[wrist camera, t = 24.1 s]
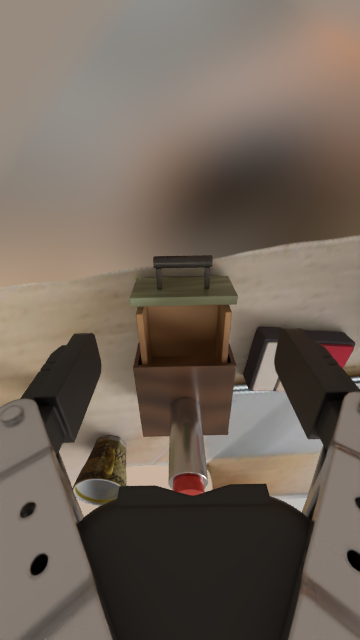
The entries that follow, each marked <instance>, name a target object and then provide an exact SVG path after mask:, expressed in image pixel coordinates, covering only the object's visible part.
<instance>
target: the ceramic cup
mask: <svg viewBox="0 0 360 640" xmlns="http://www.w3.org/2000/svg"><path fill="white" fill-rule="evenodd" d="M119 486H126V444H125V443H124V442H123V441H122V439H121V438H120V437H116V436H112V435H108V436H104V437H100V438H99V439H98V440H97V442H96V444H95V446H94V448H93V450H92V452H91V454H90V456H89V458H88V460H87V462H86V464H85V465H84V467H83V468H82V470H81V472H80V474H79V476H78V478H77V480H76V482H75V484H74V486H73V491H74V494H75V497H76V498H78V499H79V500H81V501H83V502H85V503H88V504H92V505H99V506H101V505H103V504H105V503H107V502H109V501H111V500H114V499H117V497H118V491H119Z"/></svg>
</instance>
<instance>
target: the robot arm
mask: <svg viewBox="0 0 360 640" xmlns="http://www.w3.org/2000/svg"><path fill="white" fill-rule="evenodd" d="M274 366H275V370H276V373H277V375H278V377H279V379H280V381H281V383H282V386H283V388H284V390H285V392H286V394H287V396H288V398H289V400H290V402H291V405H292V407H293V409H294V411H295V413H296V415H297V417H298V419H299V421H300V423H301V426H302V428H303V430H304V432H305V434H306V436H307V438H308V439H321V441H322V443H323V447H322V450H321V453H320V456H319V460H318V463H317V466H316V470H315V473H314V477H313V480H312V484H311V487H310V490H309V494H308V497H307V500H306V502H305V505H304V508H303V511H302V512H300V511H299V510H297V509H296V508H294V507H293V506H291V505H289V504H287V503H285V502H284V501H281V500H279V499H276V498H274V497H270V496H269V493H268V489H267V485H266V484H230V485H227V486H223V487H220V488H217V489H214V490H211V491H208V492H205V493H201V494H198V495H193V496H191V495H187V494H183V493H180V492H176V491H173V490H169V489H165V488H162V487H158V486H119V491H118V497H117V499H114V500H111V501H109V502H107V503H105V504H103V505H101V506H99V507H98V508H96V509H95V510H93V511H92V512H90V513H89V514H88V515H87V516H85V517H84V516H83V514H82V511H81V509H80V507H79V504H78V502H77V500H76V497H75V494H74V491H73V488H72V486H71V483H70V480H69V477H68V475H67V472H66V469H65V467H64V464H63V461H62V458H61V456H60V453H59V450H60V448H61V445H62V443H70V442H75V439H76V437H77V434H78V431H79V429H80V426H81V424H82V421H83V418H84V416H85V413H86V411H87V408H88V405H89V403H90V400H91V398H92V395H93V393H94V390H95V387H96V385H97V382H98V380H99V377H100V374H101V359H100V355H99V351H98V347H97V342H96V338H95V335H94V334H93V333H80V334H74V335H73V336H72V338H71V339H70V341H69V342H68V344H67V345H62V346H61V347H59V348H58V349H57V350H55V351H54V352H53V353H52V354H51V355H50V357H49V358H48V360H47V361H46V364H44V365H43V367H42V368H41V371H40V372H38V374H37V375H36V377H35V378H34V380H33V381H32V383H31V384H30V385H29V387H28V388H27V390H26V391H25V393H24V394H23V396H22V397H21V398H20V399H18V400H14V401H11V402H9V403H7V404H5V405H3V406H2V407H0V640H360V389H359V388H358V387H357V386H356V384H355V383H354V382H353V381H352V379H351V378H350V377H349V376H348V375H347V373H346V372H345V371H344V370H343V368H342V367H341V366H339V364H338V362H337V361H336V360H335V359H334V358H333V356H332V355H331V354H330V353H329V351H328V350H327V349H326V348H325V347H324V346H322V345H321V344H319V343H318V342H316V341H315V340H310V339H309V338H308V337H307V335H306V334H305V333H304V332H303V330H302V329H282V330H281V331H280V333H279V338H278V343H277V348H276V352H275V357H274Z"/></svg>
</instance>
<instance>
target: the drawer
mask: <svg viewBox="0 0 360 640" xmlns="http://www.w3.org/2000/svg"><path fill="white" fill-rule="evenodd" d="M153 263H154V268H156V277H157V278H137V280H136V282H135V285H134V288H133V291H132V293H131V296H130V305H131V307H138V309H137V313H136V319H137V327H138V335H139V343H140V352H141V360H142V365H161V364H205V363H227V357H228V347H229V337H230V327H231V317H232V311H231V309H230V306H229V305H232V304H237V299H238V295H237V293H236V291H235V289H234V287H233V285H232V283H231V281H230V279H229V277H228V276H212V277H210V267H212V263H213V259H212V255H208V256H207V255H203V256H158V257H154V258H153ZM197 267H205V277H167V278H162V275H161V268H197Z"/></svg>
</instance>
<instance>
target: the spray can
mask: <svg viewBox="0 0 360 640" xmlns="http://www.w3.org/2000/svg"><path fill="white" fill-rule="evenodd" d="M207 484H208V479H207V468H206V458H205V448H204V439H203V429H202V419H201V409H200V404H199V403H198V401H197V400H195V399H193V398H190V397H182V398H178V399H176V400H175V401H173V402H172V404H171V407H170V444H169V486H170V487H171V488H172V489H173V491H176V492H180V493H183V494H187V495H191V496H193V495H198V494H201V493H205V492H204V488H205V487H206V486H207Z"/></svg>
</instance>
